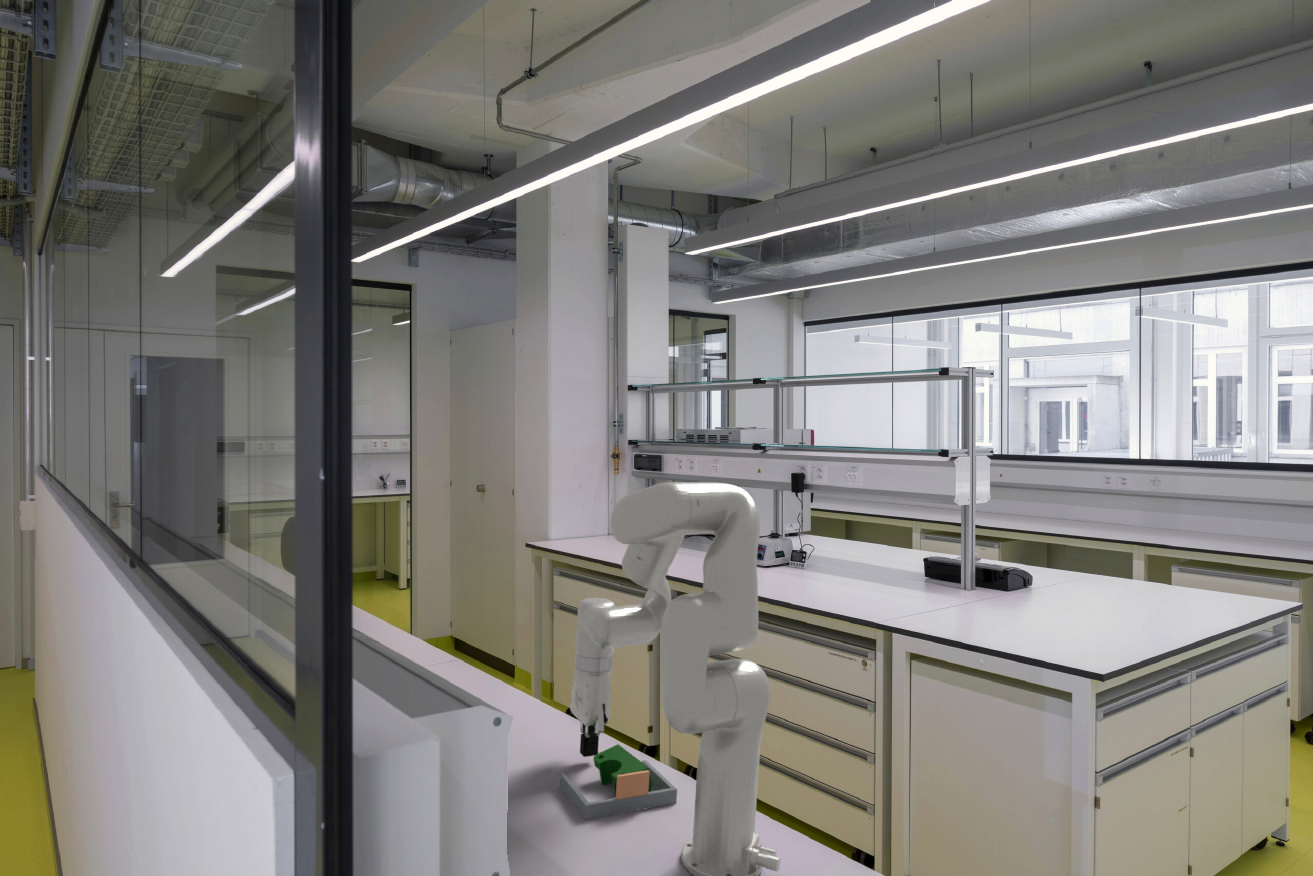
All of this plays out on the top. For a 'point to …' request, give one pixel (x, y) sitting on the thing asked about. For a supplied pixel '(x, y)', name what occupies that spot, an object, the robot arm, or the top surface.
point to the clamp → (617, 765)
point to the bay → (624, 794)
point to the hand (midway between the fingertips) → (588, 754)
